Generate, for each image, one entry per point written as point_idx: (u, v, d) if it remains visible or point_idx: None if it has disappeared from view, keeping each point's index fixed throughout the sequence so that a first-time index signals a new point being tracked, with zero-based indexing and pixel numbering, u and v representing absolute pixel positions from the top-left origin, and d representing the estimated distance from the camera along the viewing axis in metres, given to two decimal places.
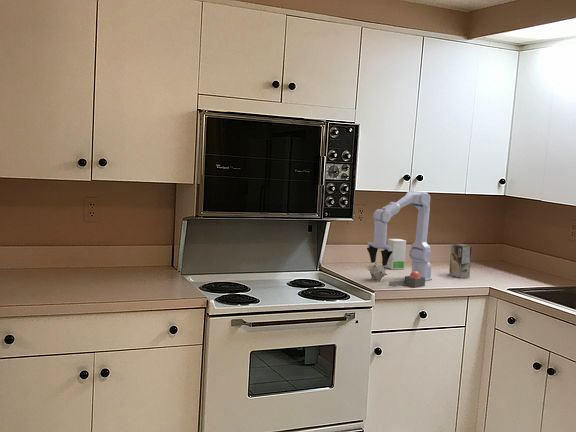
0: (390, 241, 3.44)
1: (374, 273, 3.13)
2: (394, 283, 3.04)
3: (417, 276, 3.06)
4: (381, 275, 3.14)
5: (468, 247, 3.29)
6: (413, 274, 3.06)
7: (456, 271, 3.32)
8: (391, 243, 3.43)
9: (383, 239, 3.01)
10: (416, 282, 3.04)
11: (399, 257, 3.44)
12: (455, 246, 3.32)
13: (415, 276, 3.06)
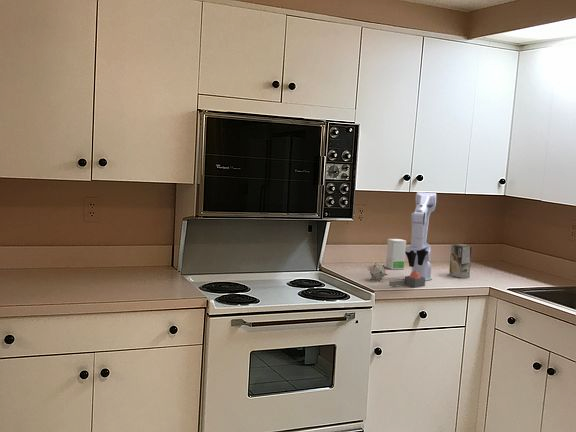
0: (390, 241, 3.44)
1: (374, 273, 3.13)
2: (394, 283, 3.04)
3: (417, 276, 3.06)
4: (381, 275, 3.14)
5: (468, 247, 3.29)
6: (413, 274, 3.06)
7: (456, 271, 3.32)
8: (391, 243, 3.43)
9: (412, 240, 3.05)
10: (416, 282, 3.04)
11: (399, 257, 3.44)
12: (455, 246, 3.32)
13: (415, 276, 3.06)
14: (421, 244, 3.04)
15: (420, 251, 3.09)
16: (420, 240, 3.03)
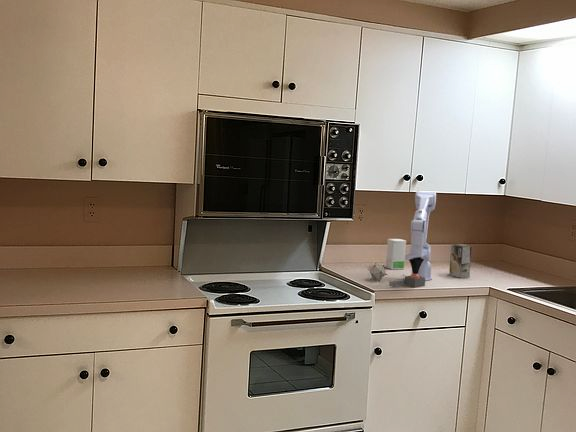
0: (390, 241, 3.44)
1: (374, 273, 3.13)
2: (394, 283, 3.04)
3: (417, 278, 3.06)
4: (381, 275, 3.14)
5: (468, 247, 3.29)
6: (413, 276, 3.06)
7: (456, 271, 3.32)
8: (391, 243, 3.43)
9: (412, 248, 3.05)
10: (416, 282, 3.04)
11: (399, 257, 3.44)
12: (455, 246, 3.32)
13: (415, 278, 3.06)
14: (421, 252, 3.04)
15: None
16: (420, 248, 3.04)
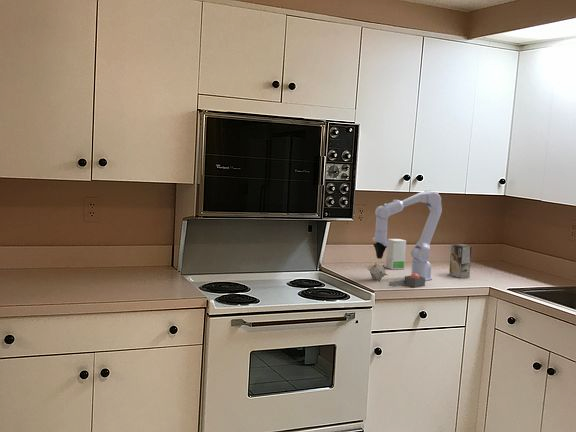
0: (390, 241, 3.44)
1: (374, 273, 3.13)
2: (394, 283, 3.04)
3: (417, 278, 3.06)
4: (381, 275, 3.14)
5: (468, 247, 3.29)
6: (413, 276, 3.06)
7: (456, 271, 3.32)
8: (391, 243, 3.43)
9: (381, 234, 3.14)
10: (416, 282, 3.04)
11: (399, 257, 3.44)
12: (455, 246, 3.32)
13: (415, 278, 3.06)
14: None
15: None
16: (386, 233, 3.16)
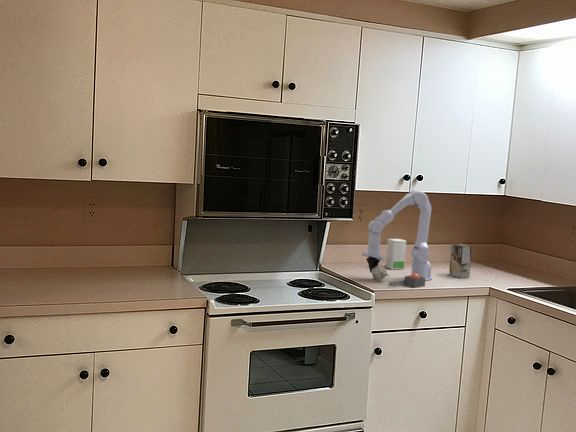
0: (390, 241, 3.44)
1: (375, 273, 3.12)
2: (394, 283, 3.04)
3: (417, 278, 3.06)
4: (382, 276, 3.12)
5: (468, 247, 3.29)
6: (413, 276, 3.06)
7: (456, 271, 3.32)
8: (391, 243, 3.43)
9: (376, 249, 3.15)
10: (416, 282, 3.04)
11: (399, 257, 3.44)
12: (455, 246, 3.32)
13: (415, 278, 3.06)
14: None
15: (372, 259, 3.18)
16: None
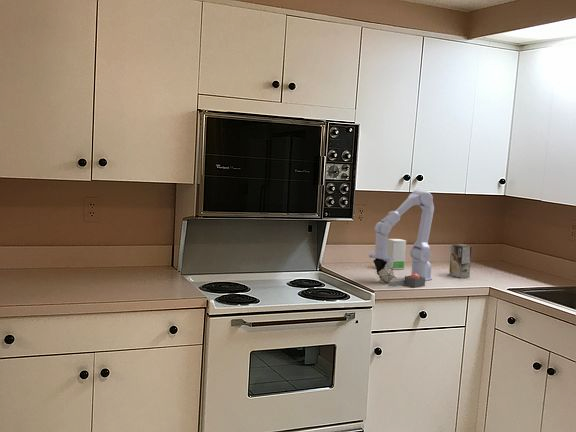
0: (390, 241, 3.44)
1: (382, 275, 3.08)
2: (394, 283, 3.04)
3: (417, 278, 3.06)
4: (389, 278, 3.08)
5: (468, 247, 3.29)
6: (413, 276, 3.06)
7: (456, 271, 3.32)
8: (391, 243, 3.43)
9: (383, 250, 3.11)
10: (416, 282, 3.04)
11: (399, 257, 3.44)
12: (455, 246, 3.32)
13: (415, 278, 3.06)
14: None
15: None
16: None
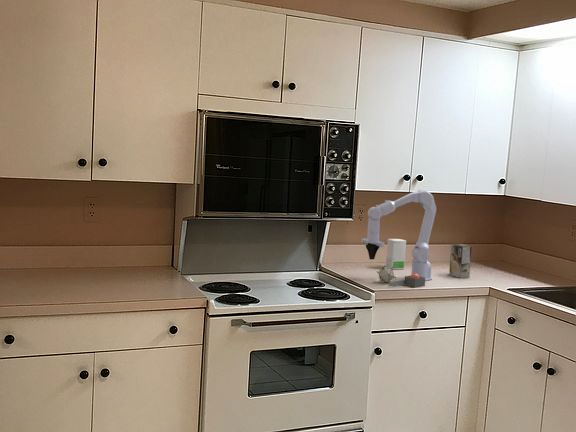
0: (390, 241, 3.44)
1: (382, 275, 3.08)
2: (394, 283, 3.04)
3: (417, 278, 3.06)
4: (389, 278, 3.08)
5: (468, 247, 3.29)
6: (413, 276, 3.06)
7: (456, 271, 3.32)
8: (391, 243, 3.43)
9: (376, 235, 3.16)
10: (416, 282, 3.04)
11: (399, 257, 3.44)
12: (455, 246, 3.32)
13: (415, 278, 3.06)
14: None
15: None
16: None
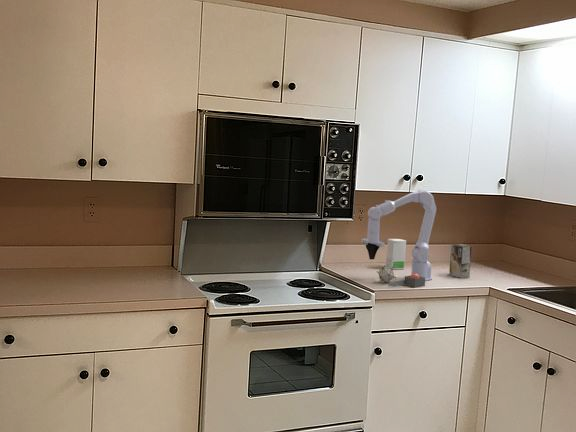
0: (390, 241, 3.44)
1: (382, 275, 3.08)
2: (394, 283, 3.04)
3: (417, 278, 3.06)
4: (389, 278, 3.08)
5: (468, 247, 3.29)
6: (413, 276, 3.06)
7: (456, 271, 3.32)
8: (391, 243, 3.43)
9: (376, 235, 3.16)
10: (416, 282, 3.04)
11: (399, 257, 3.44)
12: (455, 246, 3.32)
13: (415, 278, 3.06)
14: None
15: None
16: None
